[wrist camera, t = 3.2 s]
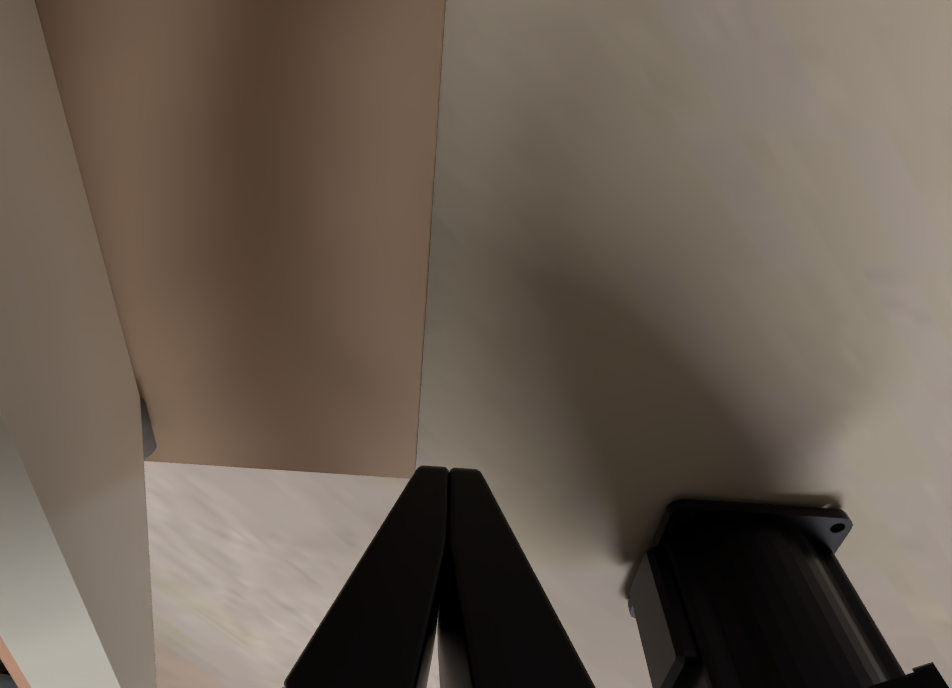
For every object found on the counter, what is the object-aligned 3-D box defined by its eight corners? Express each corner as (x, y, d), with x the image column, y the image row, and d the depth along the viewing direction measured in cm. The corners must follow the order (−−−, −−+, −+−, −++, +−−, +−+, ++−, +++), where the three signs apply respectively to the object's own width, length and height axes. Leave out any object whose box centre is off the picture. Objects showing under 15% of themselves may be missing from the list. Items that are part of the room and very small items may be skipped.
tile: (-128, 119, 4) (-357, 122, 3) (162, 783, 9) (87, 814, 9) (27, -25, 11) (-41, -30, 11) (140, 397, 17) (97, 405, 16)
